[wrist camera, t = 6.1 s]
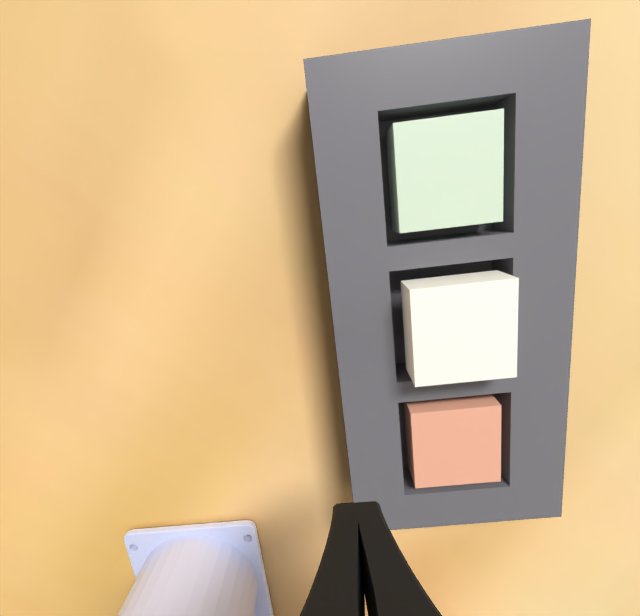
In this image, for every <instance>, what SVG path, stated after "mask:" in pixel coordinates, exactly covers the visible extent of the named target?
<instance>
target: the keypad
mask: <svg viewBox="0 0 640 616" xmlns="http://www.w3.org/2000/svg"><path fill="white" fill-rule="evenodd" d="M590 26H591V19H585V20H578V21H570V22H563V23H556V24H549V25H542V26H535V27H528V28H521V29H514V30H506V31H499V32H492V33H485V34H478V35H471V36H464V37H457V38H450V39H443V40H435V41H428V42H421V43H414V44H407V45H400V46H393V47H386V48H379V49H371V50H364V51H357V52H350V53H343V54H336V55H329V56H322V57H315V58H307V59H303V61H304V70H305V78H306V87H307V96H308V105H309V114H310V123H311V131H312V140H313V149H314V158H315V167H316V176H317V185H318V193H319V202H320V211H321V220H322V229H323V238H324V246H325V255H326V264H327V273H328V282H329V291H330V300H331V308H332V317H333V326H334V335H335V344H336V353H337V361H338V370H339V379H340V388H341V397H342V406H343V414H344V423H345V432H346V441H347V450H348V459H349V468H350V476H351V485H352V494H353V503H355V502H369V501H376V502H378V503H379V504H380V507H381V510H382V513H383V516H384V518H385V521H386V523H387V525H388V527H389V529H390V530H397V529H409V528H422V527H435V526H447V525H460V524H473V523H485V522H498V521H511V520H523V519H536V518H549V517H561V513H562V496H563V479H564V462H565V446H566V429H567V412H568V395H569V378H570V362H571V345H572V328H573V311H574V294H575V278H576V261H577V244H578V227H579V211H580V194H581V177H582V160H583V143H584V127H585V110H586V93H587V76H588V59H589V43H590ZM503 108H504V177H503V221H502V222H493V223H485V224H476V225H467V226H459V227H450V228H442V229H433V230H425V231H416V232H408V233H397V232H395V231H392V222H391V206H390V191H389V176H388V161H387V146H386V131H387V130H388V129H389V127H390V126H391V125H392V124H393V123H396V122H404V121H412V120H419V119H427V118H435V117H442V116H450V115H458V114H465V113H473V112H481V111H488V110H496V109H503ZM494 270H499V271H501V272H504V273H507V274H509V275H512V276H515V277H517V278H519V295H518V345H517V377H514V378H504V379H493V380H483V381H473V382H462V383H452V384H442V385H432V386H421V387H415V386H414V384H413V382H412V380H411V378H410V376H409V373H408V371H407V369H406V360H405V344H404V328H403V312H402V296H401V281H403V280H412V279H421V278H430V277H439V276H449V275H458V274H467V273H476V272H485V271H494ZM486 394H492V395H493V396H494V397H495V398H496V400H497V401H498V402H499V403H500V404H501V481H498V482H486V483H474V484H462V485H450V486H439V487H427V488H415V486H414V483H413V479H412V476H411V473H410V470H409V467H408V463H407V448H406V433H405V418H404V403H403V402H413V401H423V400H434V399H444V398H455V397H465V396H476V395H486Z"/></svg>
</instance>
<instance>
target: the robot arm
mask: <svg viewBox="0 0 640 616" xmlns="http://www.w3.org/2000/svg"><path fill="white" fill-rule="evenodd" d="M247 535H250V536H247ZM124 543H125V546H126V549H127V552H128V555H129V559H130V562H131V565H132V568H133V571H134V575H135V578H136V580H135V582H134V584H133V586H132V588H131V590H130V592H129V594H128V596H127V597H126V599H125V601H124V603H123V605H122V607H121V609H120V611H119V613H118V615H117V616H274V615H273V609H272V604H271V599H270V594H269V589H268V584H267V579H266V574H265V569H264V564H263V559H262V554H261V549H260V544H259V539H258V534H257V528H256V525H255V523H254V522H253V521H250V520H241V521H229V522H216V523H204V524H192V525H180V526H168V527H155V528H143V529H132V530H129V531H128V532H127V533H126V535H125V537H124ZM364 593H365V599H366V605H367V610H368V616H442V615H441V614H440V612H439V611H438V610H437V608H436V607H435V605H434V604H433V602H432V601H431V599H430V598H429V596H428V595H427V594H426V592H425V590H424V589H423V587H422V586H421V584H420V583H419V581H418V580H417V578H416V576H415V575H414V573H413V572H412V570H411V568H410V567H409V565H408V563H407V561H406V560H405V558H404V556H403V554H402V552H401V551H400V549H399V547H398V545H397V543H396V541H395V540H394V538H393V536H392V533H391V531H390V529H389V527H388V525H387V523H386V521H385V518H384V516H383V513H382V510H381V507H380V504H379V503H378V502H376V501H369V502H355V503H340V504H336V505H335V506H334V507H333V516H332V522H331V527H330V531H329V535H328V539H327V543H326V546H325V550H324V553H323V556H322V559H321V563H320V566H319V569H318V571H317V574H316V577H315V579H314V582H313V585H312V587H311V590H310V593H309V595H308V598H307V600H306V603H305V605H304V607H303V610H302V612H301V614H300V616H365V600H364Z"/></svg>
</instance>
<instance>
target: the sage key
mask: <svg viewBox="0 0 640 616" xmlns="http://www.w3.org/2000/svg"><path fill="white" fill-rule="evenodd" d="M386 146H387V161H388V176H389V191H390V206H391V222H392V231H395V232H397V233H408V232H416V231H425V230H433V229H442V228H450V227H459V226H467V225H476V224H485V223H493V222H502V221H503V177H504V108H503V109H496V110H488V111H481V112H473V113H465V114H458V115H450V116H442V117H435V118H427V119H419V120H412V121H404V122H396V123H393V124H392V125H391V126H390V127H389V129H388V130H387V131H386Z"/></svg>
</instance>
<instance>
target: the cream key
mask: <svg viewBox="0 0 640 616" xmlns="http://www.w3.org/2000/svg"><path fill="white" fill-rule="evenodd" d="M518 295H519V278H517V277H515V276H512V275H509V274H507V273H504V272H501V271H499V270H494V271H485V272H476V273H467V274H458V275H449V276H439V277H430V278H421V279H412V280H403V281H401V296H402V312H403V328H404V344H405V360H406V369H407V371H408V373H409V376H410V378H411V380H412V382H413V384H414V386H415V387H421V386H432V385H442V384H452V383H462V382H473V381H483V380H493V379H504V378H514V377H517V345H518Z"/></svg>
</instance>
